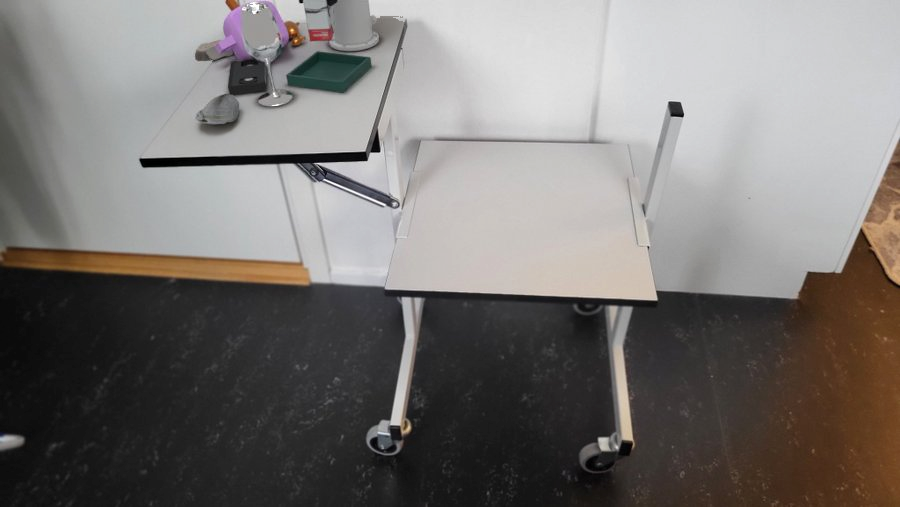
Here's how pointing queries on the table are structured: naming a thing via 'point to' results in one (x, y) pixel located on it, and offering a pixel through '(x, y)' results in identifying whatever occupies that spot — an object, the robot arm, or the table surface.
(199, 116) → the seashell
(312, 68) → the tray
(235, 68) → the vhs tape
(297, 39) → the figurine
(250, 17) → the wineglass
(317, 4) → the ink box
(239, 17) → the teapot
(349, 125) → the table surface
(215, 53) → the stone
